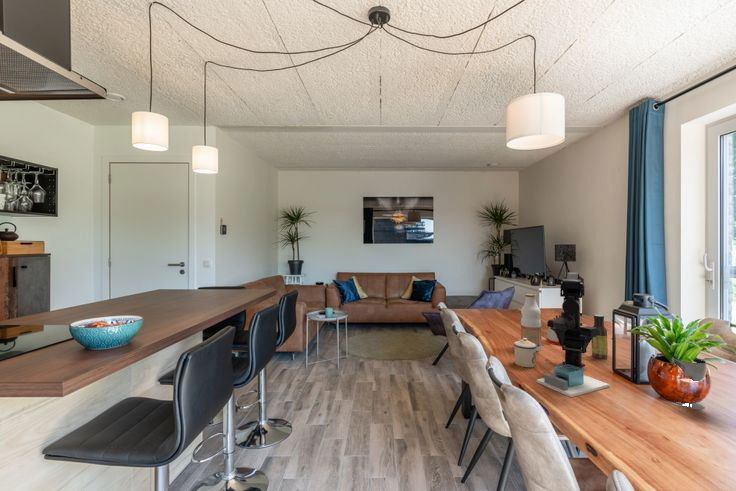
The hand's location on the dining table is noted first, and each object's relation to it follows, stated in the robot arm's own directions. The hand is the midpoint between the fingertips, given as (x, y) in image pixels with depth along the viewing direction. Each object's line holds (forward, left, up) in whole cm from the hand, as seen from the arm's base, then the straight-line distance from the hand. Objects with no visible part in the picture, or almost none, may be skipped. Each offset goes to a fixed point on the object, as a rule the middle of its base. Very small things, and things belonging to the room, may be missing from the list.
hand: (572, 348), depth 134 cm
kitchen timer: (-39, -34, -11) cm, 53 cm away
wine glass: (-12, +32, -11) cm, 36 cm away
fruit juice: (-14, -32, -11) cm, 37 cm away
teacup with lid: (+6, -18, -11) cm, 22 cm away
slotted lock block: (+10, +6, -10) cm, 16 cm away
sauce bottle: (-33, -10, -11) cm, 36 cm away
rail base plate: (+8, +6, -11) cm, 15 cm away
